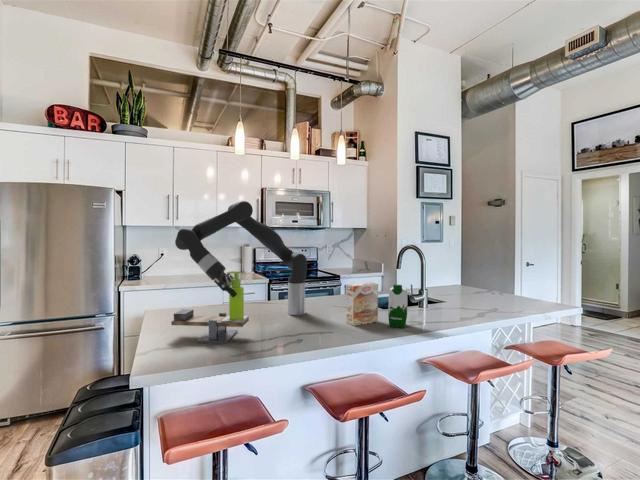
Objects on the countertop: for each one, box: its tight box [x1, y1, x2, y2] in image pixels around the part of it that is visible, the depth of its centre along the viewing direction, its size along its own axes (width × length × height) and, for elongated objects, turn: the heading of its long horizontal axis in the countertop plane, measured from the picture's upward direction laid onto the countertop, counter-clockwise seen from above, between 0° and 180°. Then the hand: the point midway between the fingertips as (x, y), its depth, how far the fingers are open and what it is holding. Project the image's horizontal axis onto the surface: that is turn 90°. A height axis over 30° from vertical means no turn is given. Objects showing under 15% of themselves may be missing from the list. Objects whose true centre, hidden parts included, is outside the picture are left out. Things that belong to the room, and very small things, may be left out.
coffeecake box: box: [345, 281, 379, 327], centre depth 173 cm, size 15×7×20 cm, turn 117°
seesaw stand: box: [196, 312, 238, 345], centre depth 148 cm, size 12×16×9 cm
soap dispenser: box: [226, 270, 245, 320], centre depth 147 cm, size 6×7×20 cm
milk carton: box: [387, 284, 408, 329], centre depth 168 cm, size 9×9×20 cm
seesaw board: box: [170, 308, 250, 328], centre depth 148 cm, size 30×10×5 cm, turn 86°
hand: (238, 294), depth 147 cm, fingers open, 8 cm apart
